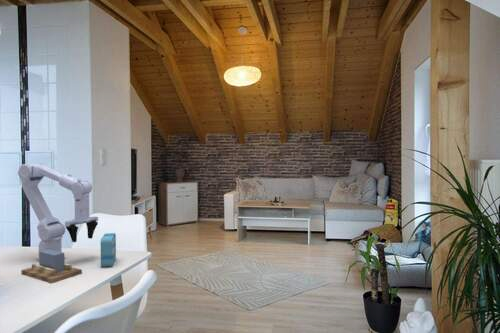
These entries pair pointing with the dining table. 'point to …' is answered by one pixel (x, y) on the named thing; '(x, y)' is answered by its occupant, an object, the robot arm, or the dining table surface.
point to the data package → (108, 249)
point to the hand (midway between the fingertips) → (82, 240)
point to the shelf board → (50, 273)
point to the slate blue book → (52, 260)
